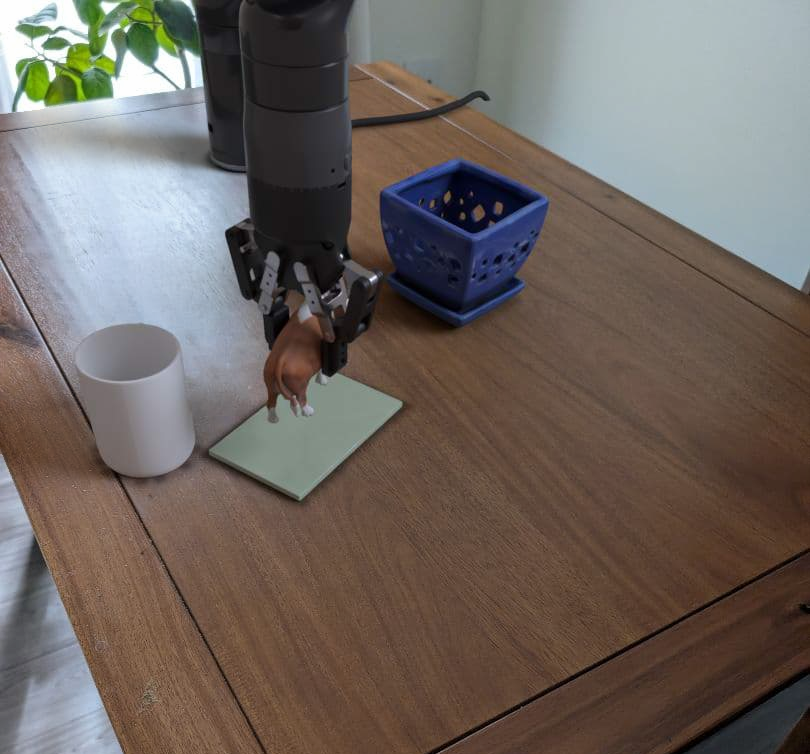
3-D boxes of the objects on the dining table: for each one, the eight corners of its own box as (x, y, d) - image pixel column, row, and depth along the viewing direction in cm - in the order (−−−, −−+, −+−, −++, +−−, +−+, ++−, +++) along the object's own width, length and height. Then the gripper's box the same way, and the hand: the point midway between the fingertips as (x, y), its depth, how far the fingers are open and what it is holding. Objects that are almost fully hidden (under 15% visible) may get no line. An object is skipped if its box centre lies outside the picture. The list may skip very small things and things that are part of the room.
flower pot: (537, 299, 96) (556, 195, 88) (461, 345, 89) (473, 237, 81) (448, 254, 102) (458, 153, 94) (370, 294, 95) (373, 189, 87)
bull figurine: (357, 356, 80) (359, 276, 74) (298, 443, 71) (294, 360, 65) (314, 345, 80) (312, 265, 74) (250, 430, 72) (241, 347, 66)
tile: (318, 369, 85) (317, 364, 85) (402, 406, 82) (402, 401, 81) (209, 455, 76) (208, 450, 75) (299, 501, 72) (299, 496, 72)
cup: (93, 481, 73) (64, 383, 65) (112, 394, 81) (89, 299, 73) (193, 479, 73) (176, 382, 66) (202, 393, 82) (187, 298, 74)
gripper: (186, 149, 61) (212, 350, 73) (351, 209, 56) (349, 413, 69) (254, 117, 66) (268, 312, 78) (412, 170, 61) (400, 369, 73)
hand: (306, 359), depth 73 cm, fingers closed on bull figurine, 5 cm apart
